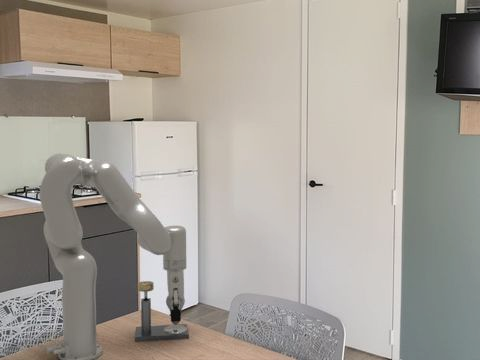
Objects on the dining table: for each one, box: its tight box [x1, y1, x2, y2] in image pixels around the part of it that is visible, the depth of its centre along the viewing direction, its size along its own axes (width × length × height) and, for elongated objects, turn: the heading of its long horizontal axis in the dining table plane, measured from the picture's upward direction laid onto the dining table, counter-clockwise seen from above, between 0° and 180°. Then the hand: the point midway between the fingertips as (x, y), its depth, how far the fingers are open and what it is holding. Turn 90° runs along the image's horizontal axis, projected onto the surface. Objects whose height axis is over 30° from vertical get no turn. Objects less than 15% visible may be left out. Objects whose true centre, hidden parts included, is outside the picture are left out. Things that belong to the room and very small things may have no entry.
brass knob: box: [137, 280, 154, 301], centre depth 172 cm, size 5×5×6 cm
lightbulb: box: [165, 292, 186, 325], centre depth 174 cm, size 6×6×11 cm
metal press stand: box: [134, 297, 190, 343], centre depth 174 cm, size 17×9×12 cm, turn 99°
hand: (175, 317), depth 175 cm, fingers closed on lightbulb, 5 cm apart
